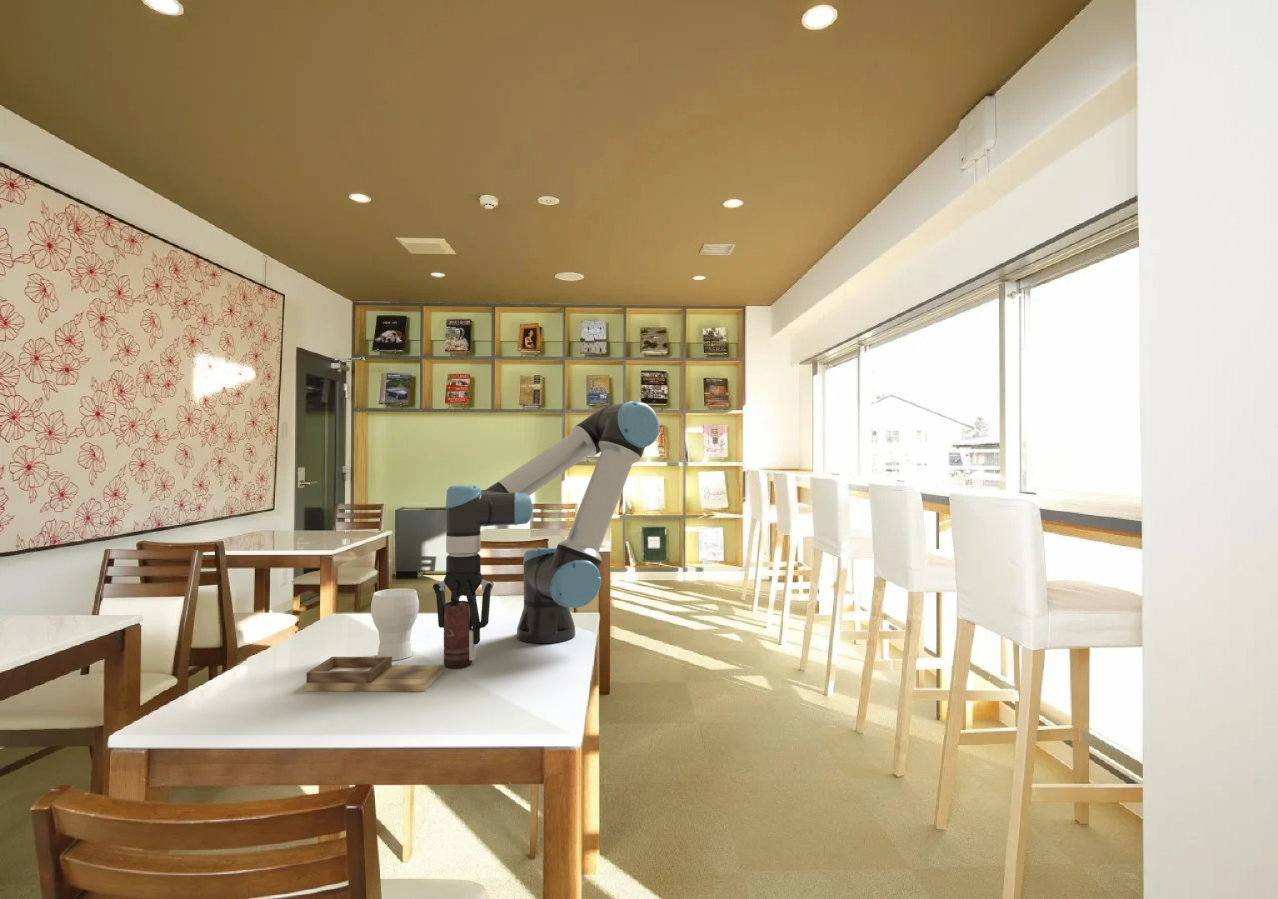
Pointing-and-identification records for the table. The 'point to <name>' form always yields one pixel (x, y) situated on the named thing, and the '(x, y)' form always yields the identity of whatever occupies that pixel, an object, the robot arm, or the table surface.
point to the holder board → (370, 675)
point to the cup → (395, 621)
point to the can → (457, 635)
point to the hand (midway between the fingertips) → (463, 658)
